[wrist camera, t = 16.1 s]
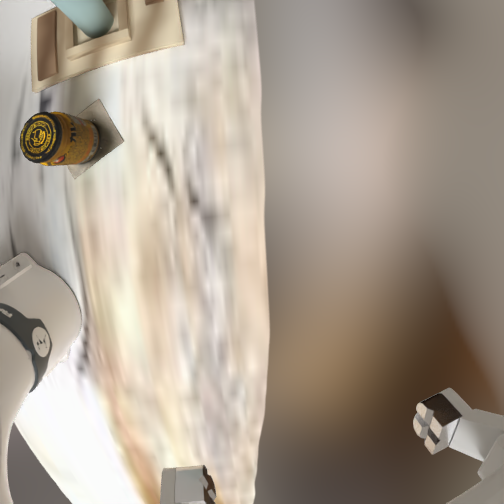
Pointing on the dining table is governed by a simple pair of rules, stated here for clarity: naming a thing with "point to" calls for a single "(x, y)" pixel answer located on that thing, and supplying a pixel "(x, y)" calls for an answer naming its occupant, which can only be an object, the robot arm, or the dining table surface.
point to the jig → (100, 39)
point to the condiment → (70, 138)
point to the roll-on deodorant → (87, 15)
